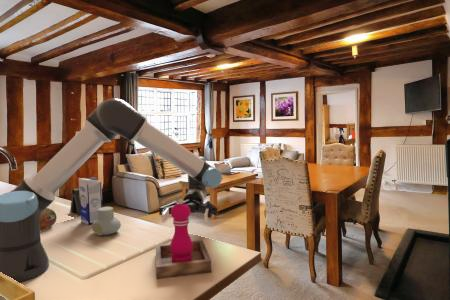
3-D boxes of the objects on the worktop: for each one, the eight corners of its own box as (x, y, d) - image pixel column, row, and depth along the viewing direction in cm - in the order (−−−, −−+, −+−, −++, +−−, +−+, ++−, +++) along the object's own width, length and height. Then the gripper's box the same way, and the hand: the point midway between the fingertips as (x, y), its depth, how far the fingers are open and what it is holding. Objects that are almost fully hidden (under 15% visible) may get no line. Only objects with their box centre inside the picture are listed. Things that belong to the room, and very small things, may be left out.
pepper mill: (171, 267, 96) (170, 203, 93) (169, 257, 102) (167, 196, 100) (195, 264, 98) (194, 201, 95) (191, 254, 104) (189, 195, 102)
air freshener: (89, 233, 126) (87, 209, 125) (106, 227, 133) (105, 204, 131) (106, 239, 120) (105, 213, 119) (124, 232, 127) (123, 208, 125)
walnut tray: (156, 278, 91) (156, 267, 90) (155, 254, 106) (155, 244, 106) (211, 272, 94) (211, 261, 94) (203, 249, 110) (203, 240, 109)
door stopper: (70, 212, 153) (68, 188, 152) (82, 209, 158) (80, 185, 156) (79, 215, 148) (78, 190, 146) (91, 212, 152) (90, 188, 151)
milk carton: (80, 222, 139) (78, 177, 136) (95, 218, 144) (93, 175, 142) (88, 225, 134) (86, 179, 132) (103, 221, 139) (101, 177, 137)
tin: (14, 234, 125) (12, 214, 124) (14, 232, 127) (12, 212, 126) (57, 226, 134) (55, 207, 133) (56, 224, 136) (54, 205, 135)
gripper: (226, 210, 122) (223, 230, 101) (162, 209, 123) (146, 229, 102) (225, 191, 121) (223, 207, 100) (161, 191, 123) (145, 207, 102)
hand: (184, 218), depth 101 cm, fingers open, 13 cm apart
